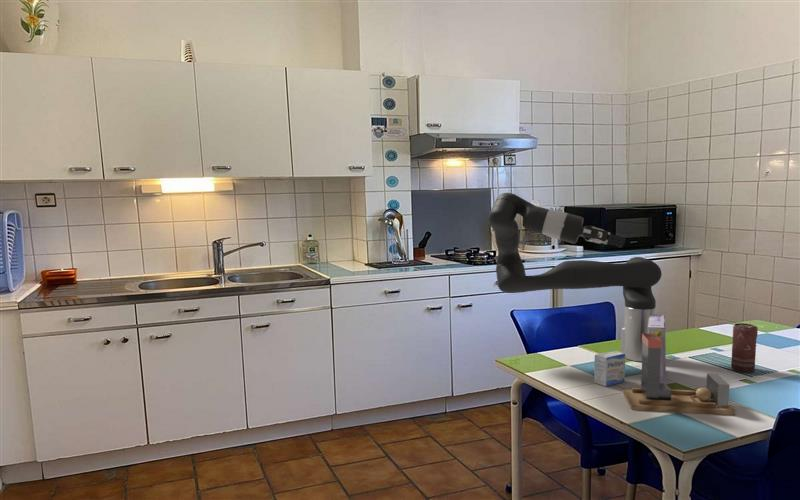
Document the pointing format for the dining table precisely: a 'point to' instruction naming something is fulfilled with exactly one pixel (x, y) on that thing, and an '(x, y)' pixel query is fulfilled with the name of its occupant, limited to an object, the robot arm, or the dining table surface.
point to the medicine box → (609, 368)
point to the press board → (675, 403)
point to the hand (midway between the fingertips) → (623, 242)
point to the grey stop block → (718, 390)
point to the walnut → (703, 394)
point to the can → (744, 347)
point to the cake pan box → (658, 328)
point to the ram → (652, 369)
